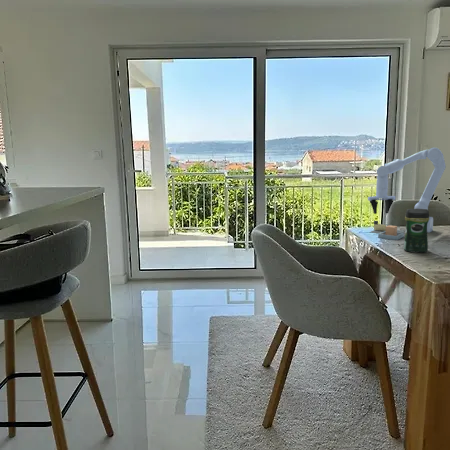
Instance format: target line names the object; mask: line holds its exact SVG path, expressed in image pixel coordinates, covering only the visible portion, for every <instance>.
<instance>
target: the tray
mask: <svg viewBox="0 0 450 450" xmlns="http://www.w3.org/2000/svg"><path fill="white" fill-rule="evenodd" d="M385 232H386V231H384V232H382V233H377V238H378V239H385V240H392V241H399V240H400V239H402V238H405V232H403V233H399V232H397V236H392V235H385Z"/></svg>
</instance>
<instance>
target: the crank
mask: <svg viewBox="0 0 450 450" xmlns="http://www.w3.org/2000/svg"><path fill="white" fill-rule="evenodd" d="M389 225H390V226H392V224H390V223H389V224H388V223H387V224H382V223H380V224H379V220H373V231H374V230H381V231H386V226H389Z"/></svg>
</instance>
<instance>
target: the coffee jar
mask: <svg viewBox="0 0 450 450" xmlns="http://www.w3.org/2000/svg"><path fill="white" fill-rule="evenodd" d="M429 211H430V210H429V209H428V210H427V209H414V208H407V209H406V211H405V214H404V215H405V216H404V220H405V232H404V241H403V250H404V251H406V252H411V253H426V252H428V251H429V242H428V232H427V224H428V221H429V217H430V212H429Z"/></svg>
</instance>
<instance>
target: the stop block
mask: <svg viewBox="0 0 450 450" xmlns="http://www.w3.org/2000/svg"><path fill="white" fill-rule="evenodd" d="M390 225H391V224H390ZM390 225H389V226H386V232H385V235H392V236H397V230H398V226H397V225H391V226H390Z"/></svg>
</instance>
